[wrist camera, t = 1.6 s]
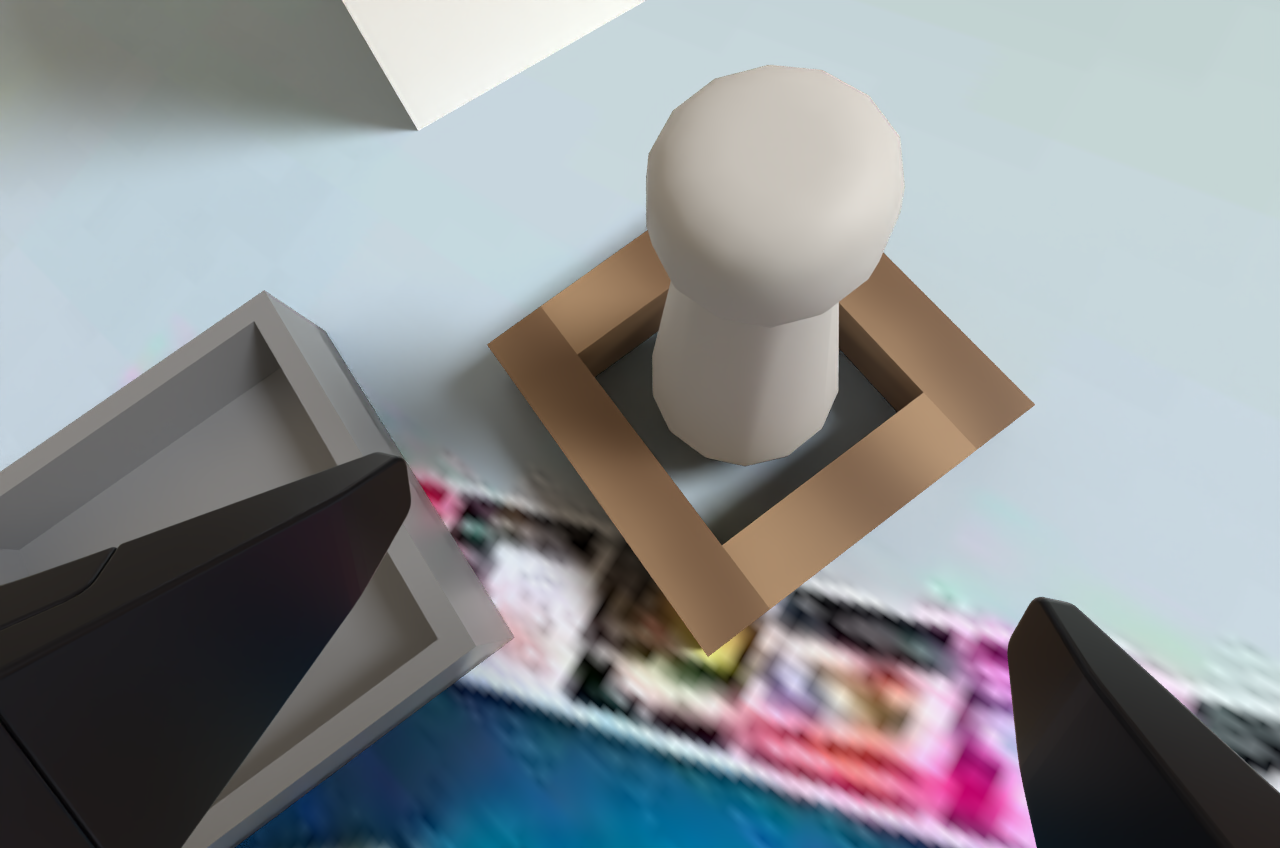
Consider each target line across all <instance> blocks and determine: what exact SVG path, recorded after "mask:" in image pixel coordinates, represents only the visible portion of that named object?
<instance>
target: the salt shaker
mask: <svg viewBox="0 0 1280 848" xmlns="http://www.w3.org/2000/svg"><path fill="white" fill-rule="evenodd" d="M904 189H905V184H904V173H903V163H902V152H901V142H900V136H899V135H898V134H897V132H896V131H895V130H894V128H893V127H892V126H891V124H890V123H889V122H888V120H887V119H886V118H885V116H884V115H883V114H882V112H881V111H880V110H879V108H878V107H877V106H876V104H875V103H874V102H873V100H872V99H871V97H870V96H868V95H867V94H865V93H863V92H861V91H859V90H858V89H856V88H854V87H852V86H850V85H848V84H847V83H845V82H843V81H841V80H839V79H838V78H836V77H834V76H832V75H830V74H828V73H827V72H825V71H823V70H817V69H806V68H796V67H785V66H774V65H766V66H762V67H759V68H755V69H751V70H747V71H743V72H739V73H735V74H731V75H727V76H724V77H720V78H716V79H714V80H712V81H711V82H710V83H708V84H707V85H706V86H705V87H703V88H702V89H701V90H699V91H698V92H697V93H695V94H694V95H693V96H691V97H690V98H689V99H687V100H686V101H685V102H684V103H682V104H681V105H680V106H678V107H677V108H676V109H674V110H673V111H672V113H671V115H670V117H669V119H668V120H667V122H666V124H665V126H664V127H663V129H662V131H661V133H660V135H659V136H658V138H657V140H656V142H655V143H654V145H653V147H652V149H651V151H650V152H649V156H648V165H647V174H646V226H647V230H648V233H649V236H650V239H651V243H652V246H653V248H654V249H655V251H656V253H657V255H658V257H659V259H660V261H661V263H662V265H663V267H664V268H665V270H666V272H667V274H668V276H669V278H670V280H671V282H670V286H669V290H668V294H667V298H666V302H665V306H664V311H663V315H662V319H661V323H660V327H659V331H658V335H657V339H656V343H655V347H654V351H653V355H652V378H653V397H654V399H655V401H656V403H657V405H658V407H659V409H660V411H661V414H662V416H663V418H664V420H665V422H666V424H667V426H668V428H669V430H670V432H672V433H673V434H674V435H676V436H677V437H678V438H680V439H681V440H682V441H684V442H685V443H686V444H688V445H689V446H690V447H692V448H693V449H695V450H696V451H697V452H699V453H700V454H701V455H703V456H704V457H705V458H709V459H714V460H719V461H723V462H728V463H732V464H737V465H742V466H749V465H753V464H757V463H762V462H766V461H770V460H774V459H778V458H783V457H786V456H788V455H790V454H791V453H792V452H793V451H795V450H796V449H797V448H798V447H800V446H801V445H802V444H803V443H805V442H806V441H807V440H808V439H810V438H811V437H812V436H813V435H815V434H816V433H817V432H818V431H820V430H821V429H822V427H823V425H824V423H825V420H826V418H827V416H828V414H829V411H830V409H831V407H832V404H833V402H834V400H835V398H836V395H837V393H838V372H839V301H841V300H842V299H843V298H845V297H846V296H847V295H849V294H850V293H851V292H852V291H854V290H855V289H856V288H858V287H859V286H860V285H861V284H863V283H864V282H865V281H867V280H868V279H869V277H870V276H871V274H872V272H873V271H874V269H875V268H876V266H877V264H878V263H879V261H880V259H881V256H882V254H883V252H884V249H885V247H886V245H887V242H888V240H889V238H890V235H891V233H892V231H893V228H894V226H895V224H896V221H897V219H898V217H899V214H900V212H901V206H902V200H903V195H904Z"/></svg>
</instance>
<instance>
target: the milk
mask: <svg viewBox="0 0 1280 848" xmlns="http://www.w3.org/2000/svg"><path fill="white" fill-rule="evenodd" d="M342 1H343V3H344V5H345V6H346V8H347V10H348V12H349V13H350V15H351V17H352V18H353V20H354V22H355V23H356V25H357V27H358V29H359V30H360V32H361V34H362V35H363V37H364V39H365V41H366V42H367V44H368V46H369V47H370V49H371V51H372V53H373V54H374V56H375V58H376V59H377V61H378V63H379V65H380V66H381V68H382V70H383V71H384V73H385V75H386V76H387V78H388V80H389V82H390V83H391V85H392V87H393V88H394V90H395V92H396V94H397V95H398V97H399V99H400V100H401V102H402V104H403V106H404V107H405V109H406V111H407V112H408V114H409V116H410V118H411V119H412V121H413V123H414V124H415V126H416V128H417V129H418V131H419V130H421V129H422V128H424V127H426V126H428V125H429V124H431V123H433V122H435V121H436V120H438V119H440V118H442V117H443V116H445V115H447V114H449V113H450V112H452V111H454V110H456V109H457V108H459V107H461V106H463V105H464V104H466V103H468V102H470V101H471V100H473V99H475V98H477V97H478V96H480V95H482V94H483V93H485V92H487V91H489V90H490V89H492V88H494V87H496V86H497V85H499V84H501V83H503V82H504V81H506V80H508V79H510V78H511V77H513V76H515V75H517V74H518V73H520V72H522V71H524V70H525V69H527V68H529V67H531V66H532V65H534V64H536V63H538V62H539V61H541V60H543V59H545V58H546V57H548V56H550V55H552V54H553V53H555V52H557V51H559V50H560V49H562V48H564V47H566V46H567V45H569V44H571V43H573V42H574V41H576V40H578V39H580V38H581V37H583V36H585V35H587V34H588V33H590V32H592V31H594V30H595V29H597V28H599V27H601V26H602V25H604V24H606V23H608V22H609V21H611V20H613V19H615V18H616V17H618V16H620V15H622V14H623V13H625V12H627V11H629V10H630V9H632V8H634V7H636V6H637V5H639V4H641V3H642V2H644V1H646V0H342Z"/></svg>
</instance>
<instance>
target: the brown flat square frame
mask: <svg viewBox="0 0 1280 848" xmlns="http://www.w3.org/2000/svg"><path fill="white" fill-rule="evenodd" d="M670 282H671V280H670V278H669V276H668V274H667V272H666V270H665V268H664V267H663V265H662V263H661V261H660V259H659V257H658V255H657V253H656V251H655V249H654V248H653V246H652V243H651V239H650V236H649V233H648V230H647V231H646V232H644V233H643V234H641V235H640V236H639V237H637V238H636V239H634V240H633V241H632V242H630V243H629V244H627V245H626V246H625V247H623V248H622V249H620V250H619V251H618V252H616V253H615V254H613V255H612V256H611V257H609V258H608V259H606V260H605V261H604V262H602V263H601V264H599V265H598V266H597V267H595V268H594V269H592V270H591V271H590V272H588V273H587V274H585V275H584V276H583V277H581V278H580V279H578V280H577V281H576V282H574V283H573V284H571V285H570V286H569V287H567V288H566V289H564V290H563V291H562V292H560V293H559V294H557V295H556V296H555V297H553V298H552V299H550V300H549V301H547V302H546V303H545V304H543V305H542V306H540V307H539V308H538V309H536V310H535V311H533V312H532V313H531V314H529V315H528V316H526V317H525V318H524V319H522V320H521V321H519V322H518V323H517V324H515V325H514V326H512V327H511V328H510V329H508V330H507V331H505V332H504V333H503V334H501V335H500V336H498V337H497V338H496V339H494V340H493V341H491V342H490V343H489V344H487V345H488V347H489V348H490V350H491V351H492V352H493V354H494V355H495V357H496V358H497V359H498V361H499V362H500V364H501V365H502V367H503V368H504V369H505V371H506V372H507V374H508V375H509V376H510V378H511V379H512V381H513V382H514V383H515V385H516V386H517V388H518V389H519V391H520V392H521V393H522V395H523V396H524V398H525V399H526V400H527V402H528V403H529V405H530V406H531V407H532V409H533V410H534V412H535V413H536V415H537V416H538V417H539V419H540V420H541V422H542V423H543V424H544V426H545V427H546V429H547V430H548V431H549V433H550V434H551V436H552V437H553V439H554V440H555V441H556V443H557V444H558V446H559V447H560V448H561V450H562V451H563V453H564V454H565V455H566V457H567V458H568V460H569V461H570V463H571V464H572V465H573V467H574V468H575V470H576V471H577V472H578V474H579V475H580V477H581V478H582V479H583V481H584V482H585V484H586V485H587V487H588V488H589V489H590V491H591V492H592V494H593V495H594V496H595V498H596V499H597V501H598V502H599V504H600V505H601V506H602V508H603V509H604V511H605V512H606V513H607V515H608V516H609V518H610V519H611V520H612V522H613V523H614V525H615V526H616V528H617V529H618V530H619V532H620V533H621V535H622V536H623V537H624V539H625V540H626V542H627V543H628V544H629V546H630V547H631V549H632V550H633V552H634V553H635V554H636V556H637V557H638V559H639V560H640V561H641V563H642V564H643V566H644V567H645V568H646V570H647V571H648V573H649V574H650V576H651V577H652V578H653V580H654V581H655V583H656V584H657V585H658V587H659V588H660V590H661V591H662V592H663V594H664V595H665V597H666V598H667V600H668V601H669V602H670V604H671V605H672V607H673V608H674V609H675V611H676V612H677V614H678V615H679V616H680V618H681V619H682V621H683V622H684V624H685V625H686V626H687V628H688V629H689V631H690V632H691V633H692V635H693V636H694V638H695V639H696V640H697V642H698V643H699V645H700V646H701V648H702V649H703V650H704V652H705V653H706V655H707V656H710V655H711V654H712V653H714V652H715V651H716V650H717V649H719V648H720V647H721V646H723V645H724V644H725V643H727V642H728V641H729V640H730V639H732V638H733V637H734V636H736V635H737V634H738V633H740V632H741V631H742V630H743V629H745V628H746V627H747V626H749V625H750V624H751V623H753V622H754V621H755V620H756V619H758V618H759V617H760V616H762V615H763V614H764V613H765V612H767V611H768V610H769V609H771V608H772V607H773V606H775V605H776V604H777V603H778V602H780V601H781V600H782V599H784V598H785V597H786V596H788V595H789V594H790V593H791V592H793V591H794V590H795V589H797V588H798V587H799V586H801V585H802V584H803V583H804V582H806V581H807V580H808V579H810V578H811V577H812V576H814V575H815V574H816V573H817V572H819V571H820V570H821V569H823V568H824V567H825V566H827V565H828V564H829V563H830V562H832V561H833V560H834V559H836V558H837V557H838V556H839V555H841V554H842V553H843V552H845V551H846V550H847V549H849V548H850V547H851V546H852V545H854V544H855V543H856V542H858V541H859V540H860V539H862V538H863V537H864V536H865V535H867V534H868V533H869V532H871V531H872V530H873V529H875V528H876V527H877V526H878V525H880V524H881V523H882V522H884V521H885V520H886V519H888V518H889V517H890V516H891V515H893V514H894V513H895V512H897V511H898V510H899V509H901V508H902V507H903V506H904V505H906V504H907V503H908V502H910V501H911V500H912V499H914V498H915V497H916V496H917V495H919V494H920V493H921V492H923V491H924V490H925V489H926V488H928V487H929V486H930V485H932V484H933V483H934V482H936V481H937V480H938V479H939V478H941V477H942V476H943V475H945V474H946V473H947V472H949V471H950V470H951V469H952V468H954V467H955V466H956V465H958V464H959V463H960V462H962V461H963V460H964V459H965V458H967V457H968V456H969V455H971V454H972V453H973V452H975V451H976V450H977V449H978V448H980V447H981V446H982V445H984V444H985V443H986V442H988V441H989V440H990V439H991V438H993V437H994V436H995V435H997V434H998V433H999V432H1000V431H1002V430H1003V429H1004V428H1006V427H1007V426H1008V425H1010V424H1011V423H1012V422H1013V421H1015V420H1016V419H1017V418H1019V417H1020V416H1021V415H1023V414H1024V413H1025V412H1026V411H1028V410H1029V409H1030V408H1032V407H1033V406H1034V405H1035V404H1034V403H1033V402H1032V401H1031V400H1030V399H1029V398H1028V397H1027V396H1026V395H1025V394H1024V393H1023V392H1022V391H1021V390H1020V389H1019V388H1018V387H1017V386H1016V385H1015V384H1014V383H1013V382H1012V381H1011V380H1010V379H1009V378H1008V377H1007V376H1006V375H1005V374H1004V373H1003V372H1002V371H1001V370H1000V369H999V368H998V367H997V366H996V365H995V364H994V363H993V362H992V361H991V360H990V359H989V358H988V357H987V356H986V355H985V354H984V353H983V352H982V351H981V350H980V349H979V348H978V347H977V346H976V345H975V344H974V343H973V342H972V341H971V340H970V339H969V338H968V337H967V336H966V335H965V334H964V333H963V332H962V331H961V330H960V329H959V328H958V327H957V326H956V325H955V324H954V323H953V322H952V321H951V320H950V319H949V318H948V317H947V316H946V315H945V314H944V313H943V312H942V311H941V310H940V309H939V308H938V307H937V306H936V305H935V304H934V303H933V302H932V301H931V300H930V299H929V298H928V297H927V296H926V295H925V294H924V293H923V292H922V291H921V290H920V289H919V288H918V287H917V286H916V285H915V284H914V283H913V282H912V281H911V280H910V279H909V278H908V277H907V276H906V275H905V274H904V273H903V272H902V271H901V270H900V269H899V268H898V267H897V266H896V265H895V264H894V263H893V262H892V261H891V260H890V259H889V258H888V257H887V256H886V255H885V254H884V253H883V254H882V256H881V259H880V261H879V263H878V264H877V266H876V268H875V269H874V271H873V272H872V274H871V276H870V277H869V279H868V280H867V281H865V282H864V283H863V284H861V285H860V286H859V287H858V288H856V289H855V290H854V291H852V292H851V293H850V294H849V295H847V296H846V297H845V298H843V299H842V300H841V301H839V349H840V350H841V351H842V352H843V353H844V354H845V355H846V356H847V357H848V358H849V360H850V361H851V362H852V363H853V364H854V365H855V366H856V367H857V368H858V369H859V370H860V372H861V373H862V374H863V375H864V376H865V377H866V378H867V379H868V380H869V381H870V383H871V384H872V385H873V386H874V387H875V388H876V389H877V390H878V391H879V392H880V393H881V395H882V396H883V397H884V398H885V399H886V400H887V401H888V402H889V403H890V404H891V405H892V407H893V408H894V409H895V410H896V411H897V413H896V414H895V415H893V416H892V417H891V418H889V419H888V420H887V421H885V422H884V423H883V424H881V425H880V426H879V427H878V428H876V429H875V430H874V431H872V432H871V433H870V434H868V435H867V436H866V437H864V438H863V439H862V440H860V441H859V442H858V443H856V444H855V445H854V446H852V447H851V448H850V449H849V450H847V451H846V452H845V453H843V454H842V455H841V456H839V457H838V458H837V459H835V460H834V461H833V462H831V463H830V464H829V465H827V466H826V467H825V468H823V469H822V470H821V471H819V472H818V473H817V474H816V475H814V476H813V477H812V478H810V479H809V480H808V481H806V482H805V483H804V484H802V485H801V486H800V487H798V488H797V489H796V490H794V491H793V492H792V493H790V494H789V495H788V496H786V497H785V498H784V499H783V500H781V501H780V502H779V503H777V504H776V505H775V506H773V507H772V508H771V509H769V510H768V511H767V512H765V513H764V514H763V515H761V516H760V517H759V518H757V519H756V520H755V521H754V522H752V523H751V524H750V525H748V526H747V527H746V528H744V529H743V530H742V531H740V532H739V533H738V534H736V535H735V536H734V537H732V538H731V539H730V540H728V541H727V542H726V543H724V544H723V545H721V544H720V542H719V541H718V540H717V538H716V537H715V536H714V534H713V533H712V532H711V530H710V529H709V528H708V526H707V525H706V524H705V522H704V521H703V520H702V519H701V517H700V516H699V515H698V513H697V512H696V511H695V509H694V508H693V507H692V505H691V504H690V503H689V501H688V500H687V499H686V497H685V496H684V495H683V493H682V492H681V491H680V489H679V488H678V487H677V485H676V484H675V483H674V482H673V480H672V479H671V478H670V476H669V475H668V474H667V472H666V471H665V470H664V468H663V467H662V466H661V464H660V463H659V462H658V460H657V459H656V458H655V456H654V455H653V454H652V452H651V451H650V450H649V449H648V447H647V446H646V445H645V443H644V442H643V441H642V439H641V438H640V437H639V435H638V434H637V433H636V431H635V430H634V429H633V427H632V426H631V425H630V423H629V422H628V421H627V419H626V418H625V417H624V416H623V414H622V413H621V412H620V410H619V409H618V408H617V406H616V405H615V404H614V402H613V401H612V400H611V398H610V397H609V396H608V394H607V393H606V392H605V390H604V389H603V388H602V386H601V385H600V384H599V382H598V381H597V380H596V379H595V377H596V376H597V375H599V374H600V373H601V372H603V371H604V370H605V369H607V368H608V367H610V366H611V365H612V364H614V363H615V362H616V361H618V360H619V359H621V358H622V357H623V356H625V355H626V354H627V353H629V352H630V351H632V350H633V349H634V348H636V347H637V346H638V345H640V344H641V343H643V342H644V341H645V340H647V339H648V338H649V337H651V336H652V335H654V334H655V333H656V332H658V331H659V327H660V323H661V319H662V315H663V311H664V306H665V302H666V298H667V294H668V290H669V286H670Z"/></svg>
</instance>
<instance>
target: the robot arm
mask: <svg viewBox="0 0 1280 848" xmlns="http://www.w3.org/2000/svg"><path fill="white" fill-rule="evenodd" d="M410 507H411V492H410V485H409V478H408V471H407V465H406V462H405V460H404V459H403V458H402V457H401V456H398V455H393V454H389V453H384V452H374V453H371V454H368V455H366V456H363V457H360V458H357V459H355V460H352V461H349V462H346V463H343V464H341V465H338V466H335V467H332V468H330V469H327V470H324V471H321V472H318V473H316V474H313V475H310V476H307V477H305V478H302V479H299V480H296V481H294V482H291V483H288V484H285V485H282V486H280V487H277V488H274V489H271V490H269V491H266V492H263V493H260V494H258V495H255V496H252V497H249V498H246V499H244V500H241V501H238V502H235V503H233V504H230V505H227V506H224V507H222V508H219V509H216V510H213V511H210V512H208V513H205V514H202V515H199V516H197V517H194V518H191V519H188V520H185V521H183V522H180V523H177V524H174V525H172V526H169V527H166V528H163V529H161V530H158V531H155V532H152V533H149V534H147V535H144V536H141V537H138V538H136V539H133V540H130V541H127V542H125V543H122V544H120V545H119V546H118V548H116V547H110V548H107V549H105V550H102V551H99V552H97V553H94V554H91V555H88V556H86V557H83V558H80V559H77V560H74V561H71V562H69V563H66V564H63V565H60V566H57V567H54V568H51V569H48V570H45V571H43V572H40V573H37V574H34V575H31V576H28V577H25V578H22V579H19V580H16V581H12V582H9V583H6V584H3V585H0V848H182V847H183V845H184V844H185V842H186V841H187V840H188V838H189V837H190V835H191V834H192V833H193V831H194V830H195V828H196V827H197V826H198V824H199V823H200V821H201V820H202V819H203V817H204V816H205V814H206V813H207V812H208V810H209V809H210V807H211V806H212V805H213V803H214V802H215V800H216V799H217V798H218V796H219V795H220V793H221V792H222V791H223V789H224V788H225V786H226V785H227V784H228V782H229V781H230V779H231V778H232V777H233V775H234V774H235V772H236V771H237V770H238V768H239V767H240V765H241V764H242V763H243V761H244V760H245V758H246V757H247V756H248V754H249V753H250V751H251V750H252V749H253V747H254V746H255V744H256V743H257V742H258V740H259V739H260V737H261V736H262V735H263V733H264V732H265V730H266V729H267V728H268V726H269V725H270V723H271V722H272V721H273V719H274V718H275V716H276V715H277V714H278V712H279V711H280V709H281V708H282V707H283V705H284V704H285V702H286V701H287V700H288V698H289V697H290V695H291V694H292V693H293V691H294V690H295V688H296V687H297V686H298V684H299V683H300V681H301V680H302V679H303V677H304V676H305V674H306V673H307V672H308V670H309V669H310V667H311V666H312V665H313V663H314V662H315V660H316V659H317V658H318V656H319V655H320V653H321V652H322V651H323V649H324V648H325V646H326V645H327V644H328V642H329V641H330V639H331V638H332V637H333V635H334V634H335V632H336V631H337V630H338V628H339V627H340V625H341V624H342V623H343V621H344V620H345V618H346V617H347V616H348V614H349V613H350V611H351V610H352V609H353V607H354V606H355V604H356V603H357V601H358V600H359V598H360V597H361V595H362V594H363V592H364V590H365V589H366V587H367V586H368V584H369V582H370V581H371V579H372V577H373V575H374V573H375V572H376V570H377V568H378V566H379V565H380V563H381V561H382V559H383V558H384V556H385V554H386V552H387V550H388V549H389V547H390V545H391V543H392V542H393V540H394V538H395V536H396V535H397V533H398V531H399V529H400V527H401V526H402V524H403V522H404V520H405V519H406V517H407V515H408V513H409V510H410ZM1007 654H1008V666H1009V675H1010V685H1011V695H1012V704H1013V714H1014V723H1015V733H1016V743H1017V752H1018V759H1019V766H1020V772H1021V777H1022V782H1023V788H1024V792H1025V797H1026V801H1027V806H1028V810H1029V815H1030V819H1031V824H1032V828H1033V833H1034V837H1035V842H1036V846H1037V848H1280V793H1279V792H1278V791H1277V790H1276V789H1275V788H1274V787H1273V786H1272V785H1270V784H1269V783H1268V782H1267V781H1266V780H1265V779H1264V778H1263V777H1262V776H1261V775H1260V774H1258V773H1257V772H1256V771H1255V770H1254V769H1253V768H1252V767H1251V766H1250V765H1249V764H1248V763H1246V762H1245V761H1244V760H1243V759H1242V758H1241V757H1240V756H1239V755H1238V754H1237V753H1236V752H1234V751H1233V750H1232V749H1231V748H1230V747H1229V746H1228V745H1227V744H1226V743H1225V742H1223V741H1222V740H1221V739H1220V738H1219V737H1218V736H1217V735H1216V734H1215V733H1214V732H1213V731H1211V730H1210V729H1209V728H1208V727H1207V726H1206V725H1205V724H1204V723H1203V722H1202V721H1201V720H1199V719H1198V718H1197V717H1196V716H1195V715H1194V714H1193V713H1192V712H1191V711H1190V710H1189V709H1187V708H1186V707H1185V706H1184V705H1183V704H1182V703H1181V702H1180V701H1179V700H1178V699H1177V698H1175V697H1174V696H1173V695H1172V694H1171V693H1170V692H1169V691H1168V690H1167V689H1166V688H1164V687H1163V686H1162V685H1161V684H1160V683H1159V682H1158V681H1157V680H1156V679H1155V678H1154V677H1152V676H1151V675H1150V674H1149V673H1148V672H1147V671H1146V670H1145V669H1144V668H1143V667H1142V666H1140V665H1139V664H1138V663H1137V662H1136V661H1135V660H1134V659H1133V658H1132V657H1131V656H1130V655H1128V654H1127V653H1126V652H1125V651H1124V650H1123V649H1122V648H1121V647H1120V646H1119V645H1118V644H1116V643H1115V642H1114V641H1113V640H1112V639H1111V638H1110V637H1109V636H1108V635H1107V634H1105V633H1104V632H1103V631H1102V630H1101V629H1100V628H1099V627H1098V626H1097V625H1096V624H1095V623H1093V622H1092V621H1091V620H1090V619H1089V618H1088V617H1087V616H1086V615H1085V614H1084V613H1083V612H1081V611H1080V610H1079V609H1078V608H1077V607H1076V606H1074V605H1073V604H1071V603H1068V602H1064V601H1059V600H1055V599H1050V598H1045V597H1038V598H1035V599H1034V600H1033V601H1032V602H1031V603H1030V604H1029V606H1028V608H1027V609H1026V611H1025V613H1024V615H1023V616H1022V618H1021V620H1020V622H1019V623H1018V625H1017V627H1016V629H1015V630H1014V632H1013V634H1012V636H1011V638H1010V641H1009V644H1008V653H1007Z"/></svg>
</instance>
